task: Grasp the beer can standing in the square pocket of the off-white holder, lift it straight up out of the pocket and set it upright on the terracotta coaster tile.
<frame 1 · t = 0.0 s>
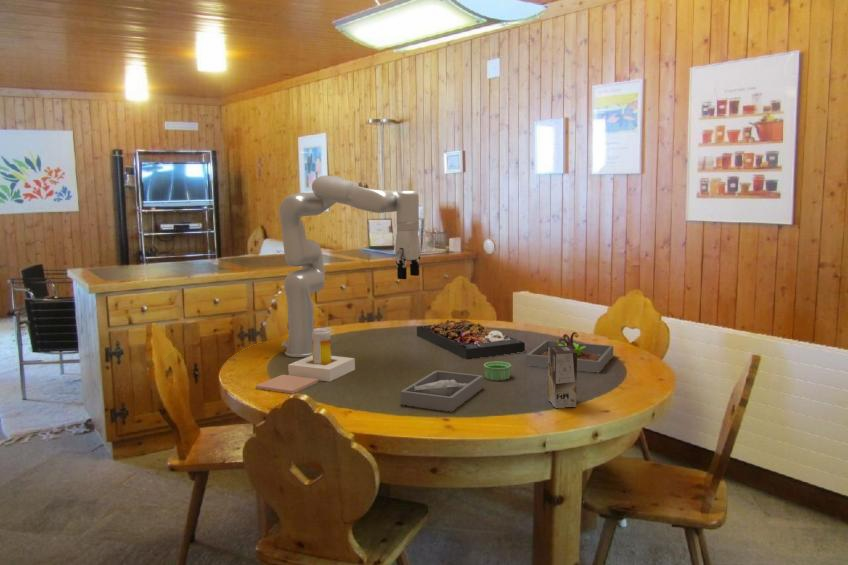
hand: (408, 277, 243), 31 cm above the table, tool pointing down, fingers open, 9 cm apart
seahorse: (444, 396, 211), touching grey tray
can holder: (322, 372, 239), on the table
ramekin: (497, 378, 231), on the table
coaster tile: (287, 385, 224), on the table
food platter: (467, 345, 280), on the table
coffee box: (561, 404, 203), on the table
plant: (570, 362, 251), on the table
grey tray: (443, 396, 211), on the table
beer can: (322, 373, 239), on the table
planter frame: (570, 361, 251), on the table
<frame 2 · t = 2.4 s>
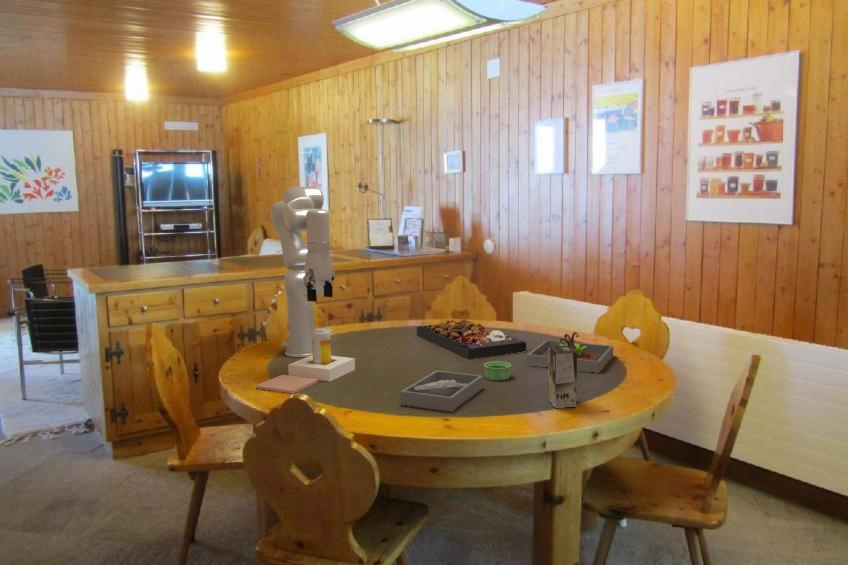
hand: (320, 298, 235), 25 cm above the table, tool pointing down, fingers open, 9 cm apart
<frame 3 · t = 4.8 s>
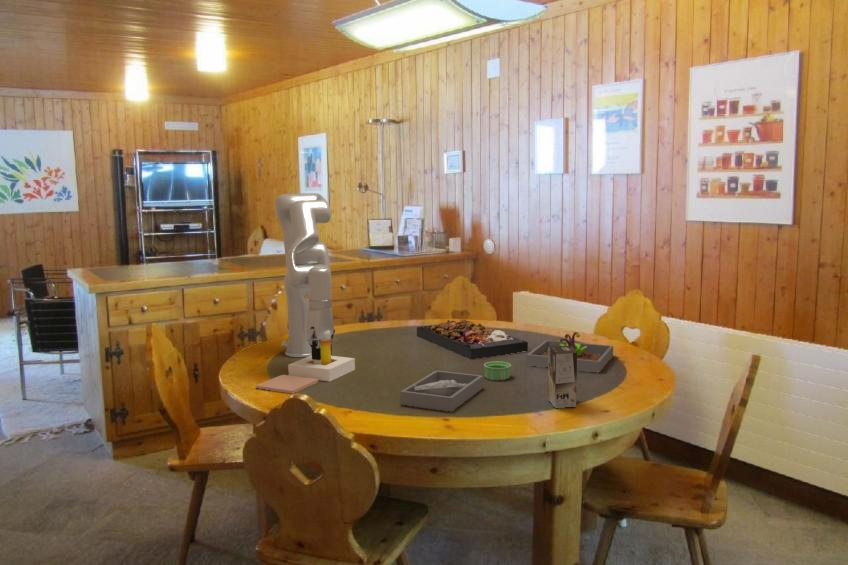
hand: (321, 356, 238), 6 cm above the table, tool pointing down, fingers closed on beer can, 6 cm apart
beer can: (322, 373, 239), on the table, touching gripper
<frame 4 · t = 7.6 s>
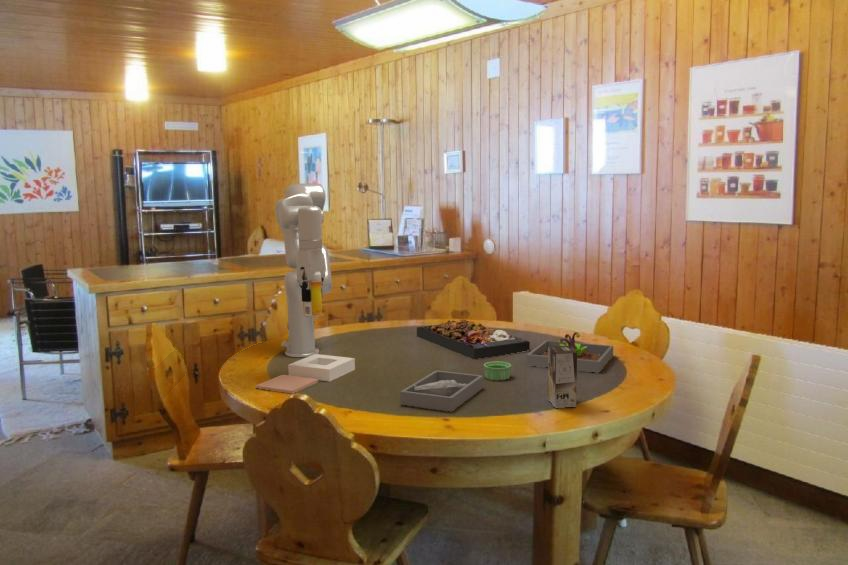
hand: (312, 299, 232), 26 cm above the table, tool pointing down, fingers closed on beer can, 6 cm apart
beer can: (312, 317, 232), point 20 cm above the table, touching gripper
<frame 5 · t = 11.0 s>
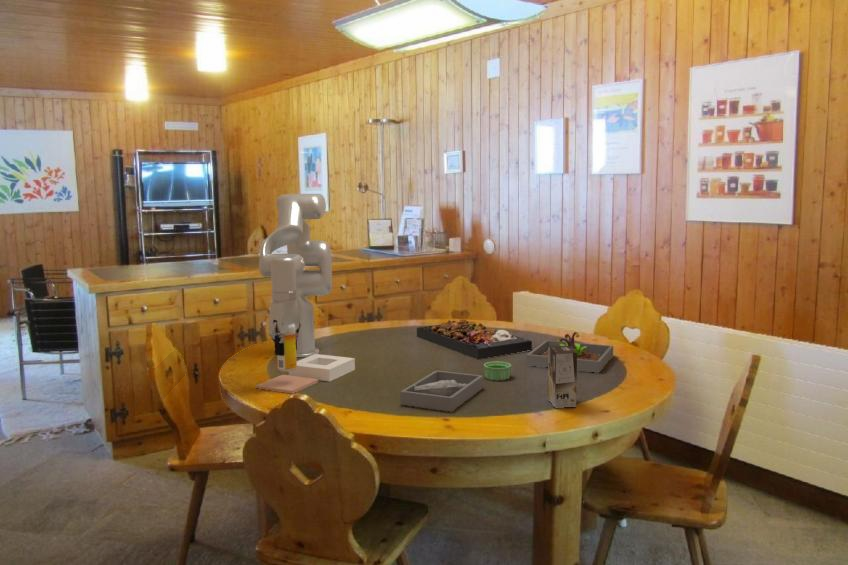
hand: (286, 352, 223), 11 cm above the table, tool pointing down, fingers closed on beer can, 6 cm apart
beer can: (287, 370, 224), point 5 cm above the table, touching gripper
when the fingers open (8 cm above the table, at t = 12.2 s): beer can drops 1 cm, resting on coaster tile.
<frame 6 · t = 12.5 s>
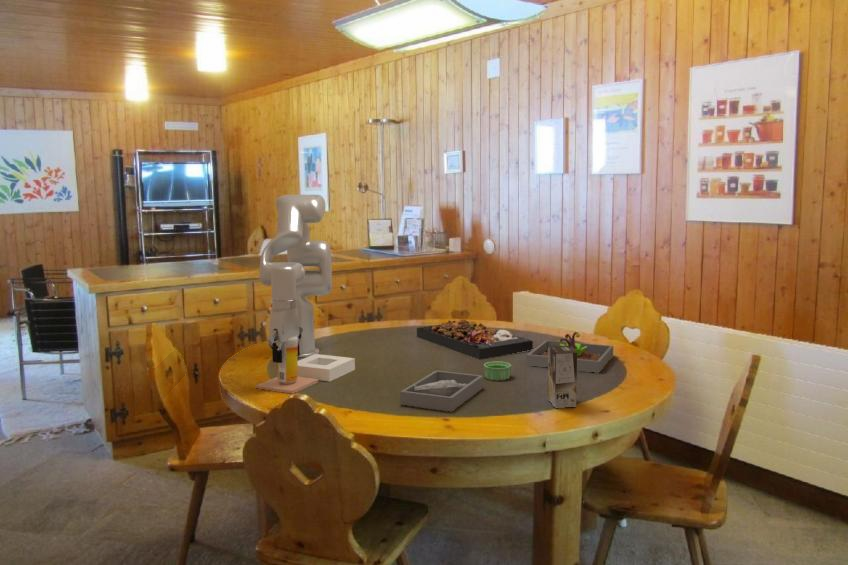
hand: (286, 358, 223), 9 cm above the table, tool pointing down, fingers open, 8 cm apart
beer can: (287, 382, 224), point 1 cm above the table, touching coaster tile
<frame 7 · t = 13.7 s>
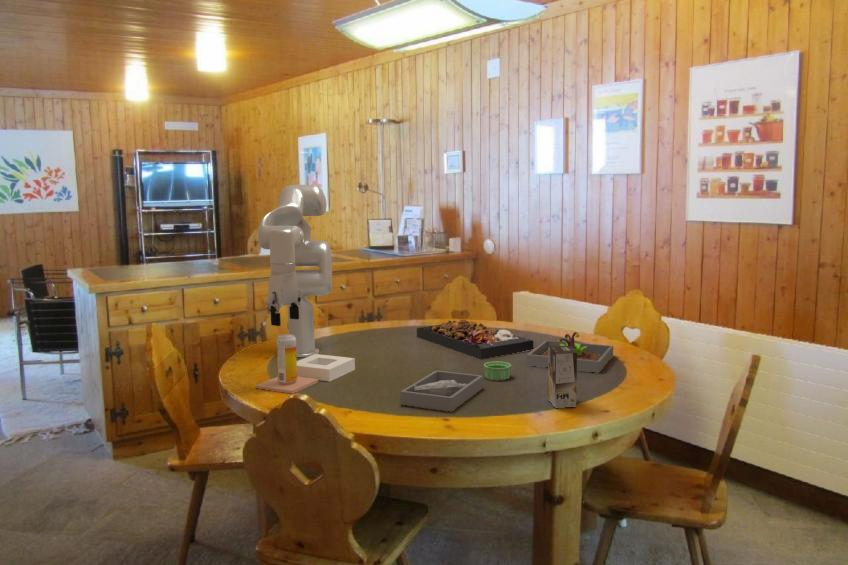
hand: (285, 322, 222), 20 cm above the table, tool pointing down, fingers open, 9 cm apart
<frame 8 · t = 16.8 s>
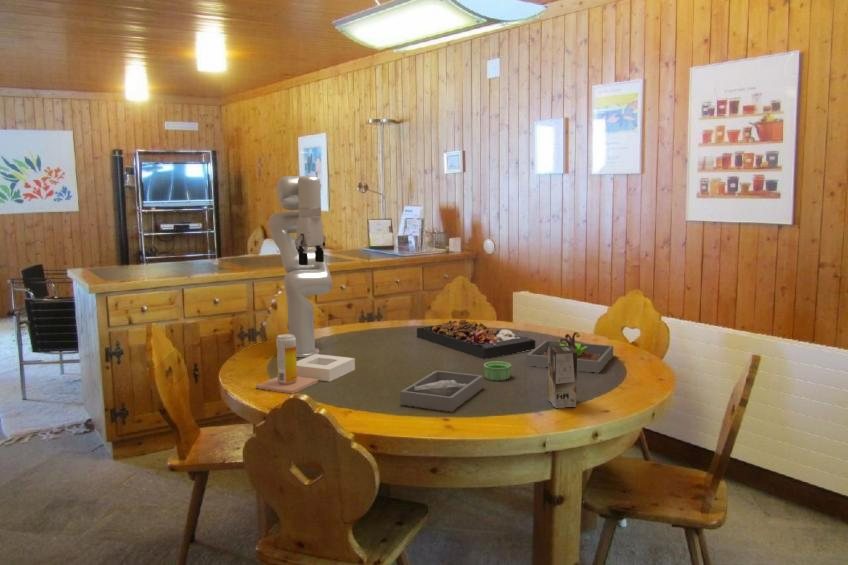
hand: (311, 263, 242), 36 cm above the table, tool pointing down, fingers open, 9 cm apart
at the end: beer can inside the target area on the coaster tile (0.1 cm from its centre), point 0.8 cm above the coaster tile's base; beer can tilted 0°; the gripper is holding nothing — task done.
